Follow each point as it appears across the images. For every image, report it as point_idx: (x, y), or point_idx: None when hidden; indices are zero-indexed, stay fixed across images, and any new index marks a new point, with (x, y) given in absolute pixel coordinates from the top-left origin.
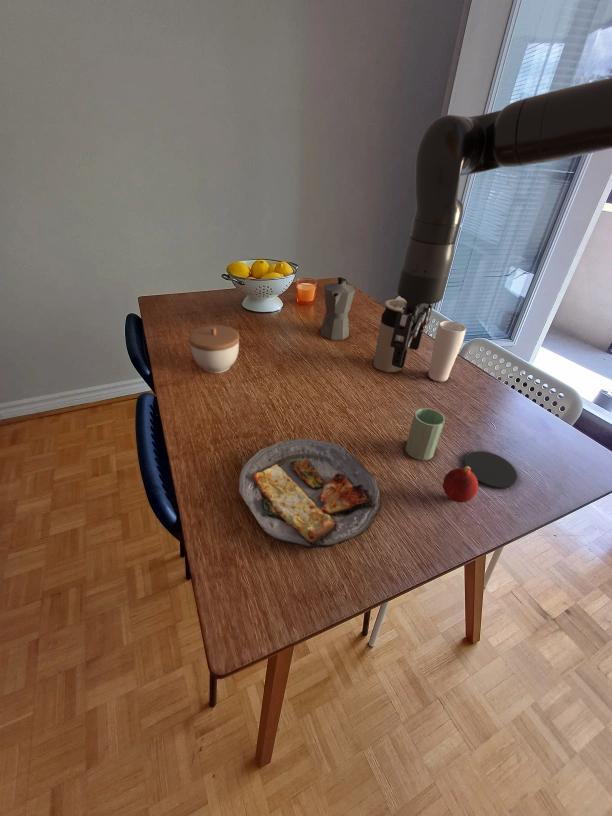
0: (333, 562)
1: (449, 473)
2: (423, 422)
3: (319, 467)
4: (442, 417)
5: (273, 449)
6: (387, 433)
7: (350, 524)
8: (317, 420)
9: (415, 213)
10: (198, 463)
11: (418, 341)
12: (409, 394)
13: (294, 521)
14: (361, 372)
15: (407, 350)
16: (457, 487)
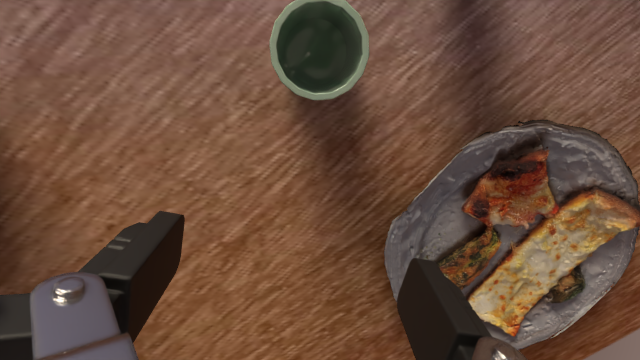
0: (635, 168)
1: None
2: (362, 68)
3: (441, 243)
4: (306, 3)
5: None
6: (279, 137)
7: (589, 164)
8: (297, 283)
9: None
10: None
11: (162, 246)
12: (68, 104)
13: (594, 248)
14: (40, 245)
15: (463, 325)
16: None
